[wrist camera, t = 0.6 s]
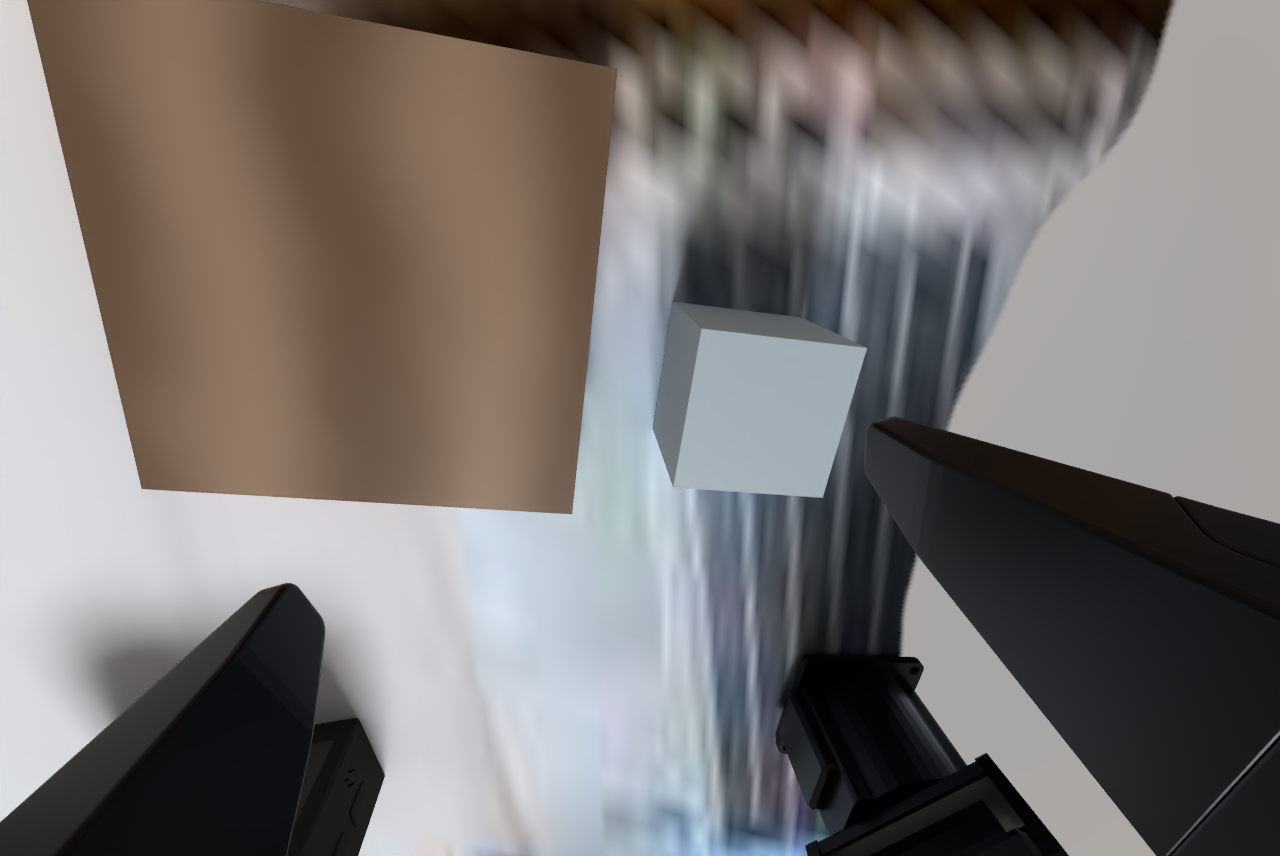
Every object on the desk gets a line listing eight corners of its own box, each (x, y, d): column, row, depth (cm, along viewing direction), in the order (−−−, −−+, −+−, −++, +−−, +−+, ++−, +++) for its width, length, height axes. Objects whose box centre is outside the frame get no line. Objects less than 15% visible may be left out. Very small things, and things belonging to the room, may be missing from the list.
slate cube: (800, 317, 20) (867, 347, 15) (770, 437, 22) (822, 497, 17) (672, 300, 19) (701, 328, 15) (652, 427, 21) (673, 487, 16)
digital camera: (352, 696, 25) (272, 869, 18) (387, 774, 27) (327, 953, 20) (119, 737, 24) (-49, 930, 17) (174, 812, 26) (42, 1010, 20)
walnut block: (608, 99, 17) (617, 68, 13) (572, 462, 22) (571, 514, 18) (154, 18, 15) (16, -46, 11) (223, 437, 20) (141, 488, 16)
